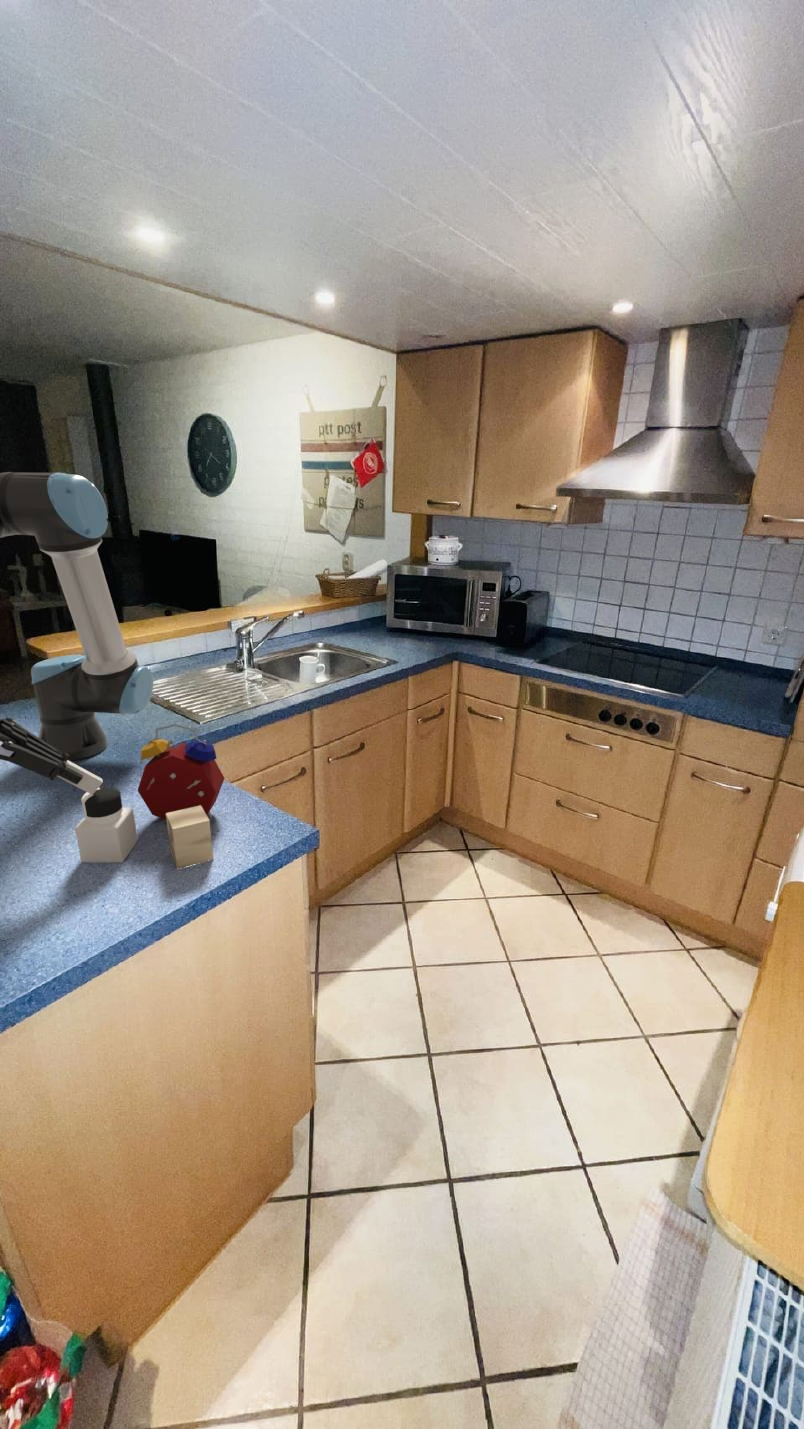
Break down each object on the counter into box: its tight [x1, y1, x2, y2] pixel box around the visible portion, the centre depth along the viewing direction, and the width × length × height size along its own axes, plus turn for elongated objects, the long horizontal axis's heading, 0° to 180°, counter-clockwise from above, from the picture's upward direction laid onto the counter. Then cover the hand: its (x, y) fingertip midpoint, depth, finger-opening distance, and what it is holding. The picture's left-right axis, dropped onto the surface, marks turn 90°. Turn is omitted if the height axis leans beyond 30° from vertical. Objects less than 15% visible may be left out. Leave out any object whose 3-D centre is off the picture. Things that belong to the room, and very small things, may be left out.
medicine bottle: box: [74, 786, 138, 864], centre depth 103 cm, size 7×7×12 cm
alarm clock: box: [137, 723, 225, 821], centre depth 112 cm, size 15×9×20 cm, turn 90°
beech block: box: [166, 805, 214, 870], centre depth 103 cm, size 6×6×8 cm
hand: (97, 786), depth 100 cm, fingers closed
